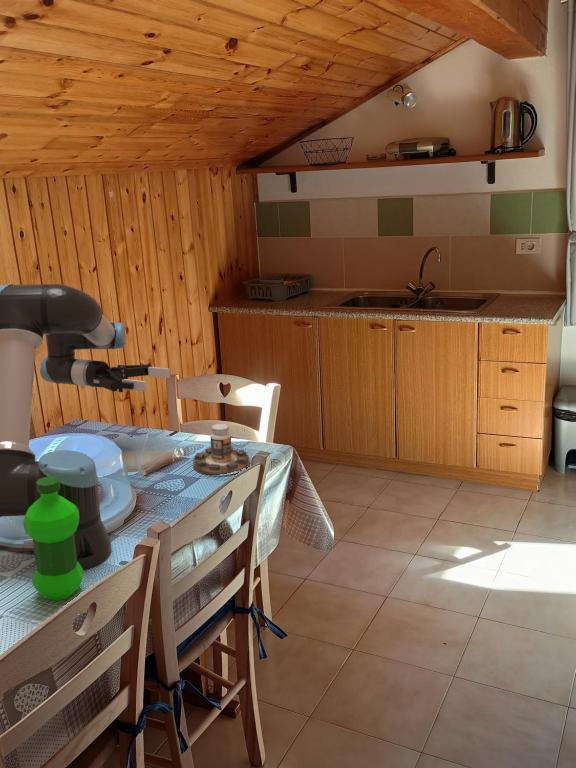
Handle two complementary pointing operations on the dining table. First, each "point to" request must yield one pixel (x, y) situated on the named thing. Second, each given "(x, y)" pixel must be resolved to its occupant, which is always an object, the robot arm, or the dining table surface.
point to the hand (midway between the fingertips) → (157, 379)
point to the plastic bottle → (54, 541)
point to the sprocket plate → (220, 463)
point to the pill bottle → (220, 443)
